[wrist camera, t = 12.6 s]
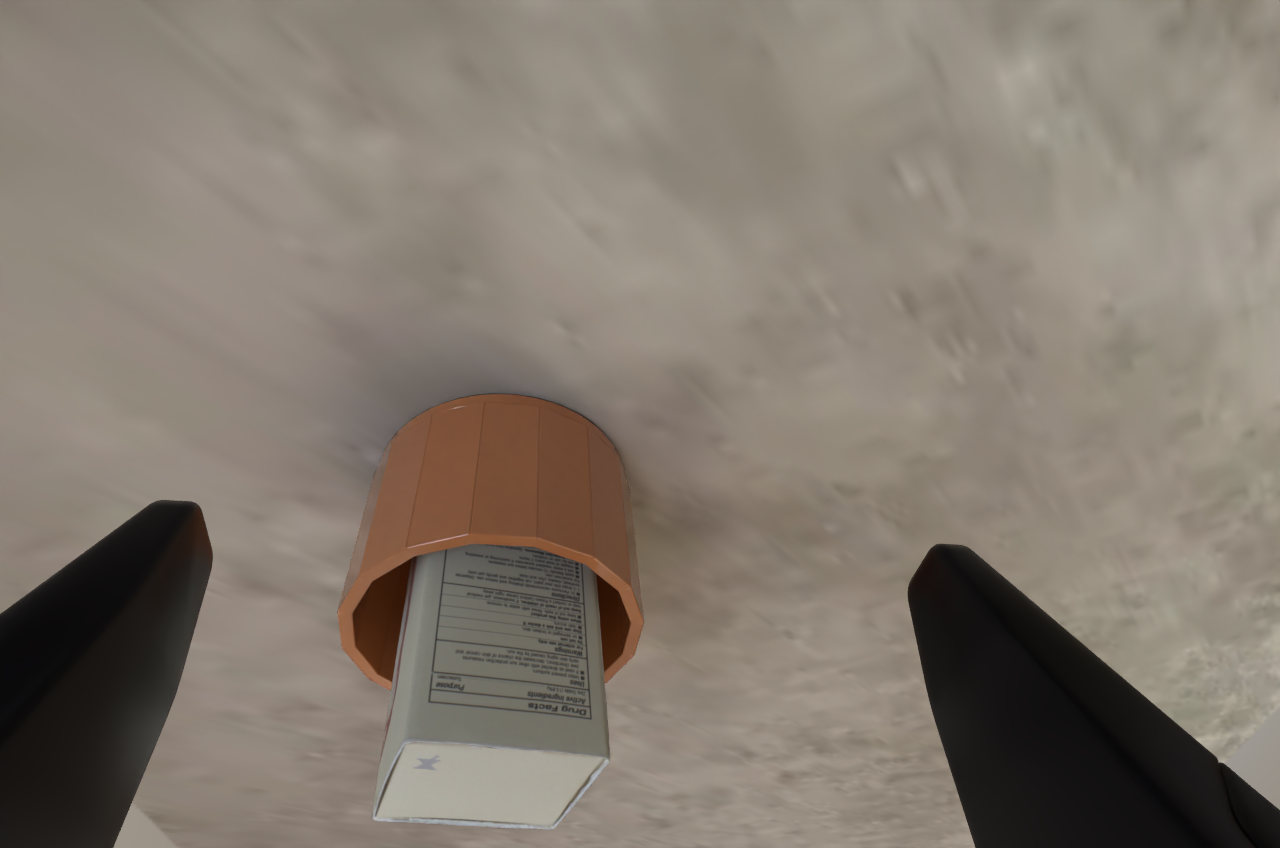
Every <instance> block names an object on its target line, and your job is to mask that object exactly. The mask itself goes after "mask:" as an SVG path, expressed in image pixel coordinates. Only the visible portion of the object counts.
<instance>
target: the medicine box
mask: <svg viewBox="0 0 1280 848" xmlns="http://www.w3.org/2000/svg"><path fill="white" fill-rule="evenodd" d="M609 762H610V747H609V729H608V718H607V702H606V691H605V680H604V666H603V656H602V641H601V629H600V613H599V603H598V590H597V580H596V573H595V572H594V571H592V570H591V569H590V568H589V567H588V566H586V565H585V564H582V563H579V562H576V561H573V560H570V559H567V558H564V557H561V556H558V555H555V554H553V553H550V552H547V551H544V550H541V549H538V548H535V547H524V546H504V545H484V544H469V545H465V546H460V547H456V548H451V549H446V550H442V551H437V552H433V553H428V554H423V555H419V556H414V557H413V558H411V564H410V570H409V577H408V583H407V590H406V597H405V603H404V610H403V616H402V623H401V629H400V635H399V642H398V648H397V654H396V661H395V667H394V674H393V680H392V687H391V693H390V700H389V706H388V712H387V719H386V726H385V733H384V740H383V746H382V752H381V759H380V766H379V773H378V779H377V786H376V792H375V798H374V805H373V813H372V818H373V819H374V820H376V821H386V822H387V821H390V822H412V823H414V822H417V823H429V824H446V825H462V826H486V827H504V828H534V829H537V828H540V829H548V830H553V829H554V828H555V827H556V826H557V825H558V823H559V822H560V821H561V820H562V818H563V817H565V815H566V814H567V813H568V812H569V811H570V810H571V809H572V807H573V806H574V805H575V804H576V803H577V801H578V800H579V799H580V798H581V797H582V795H583V794H584V793H585V792H586V790H587V789H588V788H589V787H590V786H591V785H592V783H593V782H594V781H595V780H596V778H597V777H598V776H599V774H600V773H601V772H602V771H603V769H604V768H605V767H606V766H607V764H608V763H609Z"/></svg>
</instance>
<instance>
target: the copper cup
mask: <svg viewBox="0 0 1280 848" xmlns="http://www.w3.org/2000/svg"><path fill="white" fill-rule="evenodd" d="M469 544H484V545H504V546H524V547H535V548H538V549H541V550H544V551H547V552H550V553H553V554H555V555H558V556H561V557H564V558H567V559H570V560H573V561H576V562H579V563H582V564H585V565H586V566H588V567H589V568H590V569H591V570H592V571H594V572H595V573H596V580H597V590H598V603H599V613H600V629H601V641H602V656H603V666H604V680H605V683H607V682H608V681H609V680H610V679H611V678H612V677H613V676H614V675H615V674H616V673H617V672H618V671H619V670H620V669H621V668H622V667H623V666H624V665H625V664H626V663H627V662H628V661H629V660H630V659H631V658H632V657H633V656H634V655H635V651H636V648H637V645H638V641H639V638H640V634H641V631H642V628H643V624H644V616H643V606H642V597H641V588H640V579H639V570H638V560H637V551H636V542H635V533H634V524H633V514H632V505H631V496H630V489H629V486H628V483H627V478H626V473H625V469H624V465H623V462H622V460H621V458H620V455H619V453H618V452H617V450H616V448H615V447H614V445H613V444H612V442H611V441H610V440H609V439H608V438H607V437H606V435H605V434H604V433H603V432H602V431H601V430H600V429H598V428H597V427H596V426H595V425H594V424H593V423H591V422H590V421H588V420H587V419H585V418H584V417H582V416H581V415H579V414H578V413H576V412H574V411H572V410H570V409H567V408H565V407H563V406H561V405H558V404H555V403H552V402H550V401H546V400H542V399H538V398H534V397H529V396H522V395H514V394H485V395H475V396H469V397H463V398H459V399H455V400H452V401H448V402H445V403H442V404H440V405H438V406H435V407H433V408H430V409H428V410H426V411H425V412H423V413H421V414H420V415H418V416H416V417H415V418H413V419H412V420H411V421H409V422H408V423H407V424H406V425H404V426H403V427H402V428H401V429H400V430H399V431H398V432H397V433H396V434H395V435H394V437H393V438H392V439H391V441H390V442H389V444H388V445H387V447H386V448H385V450H384V453H383V455H382V457H381V459H380V463H379V466H378V468H377V470H376V471H375V473H374V476H373V480H372V483H371V487H370V491H369V495H368V498H367V502H366V506H365V510H364V513H363V517H362V521H361V525H360V528H359V532H358V536H357V540H356V544H355V547H354V551H353V555H352V559H351V562H350V566H349V570H348V574H347V577H346V581H345V585H344V589H343V592H342V596H341V600H340V604H339V607H338V611H337V613H338V622H339V630H340V638H341V646H342V649H343V650H344V651H345V652H346V654H347V655H348V656H349V657H350V658H351V660H352V661H353V662H354V663H355V664H356V665H357V667H358V668H359V669H360V670H361V671H362V672H363V674H364V675H365V676H366V677H367V678H368V679H369V680H371V681H373V682H375V683H376V684H378V685H380V686H382V687H384V688H386V689H388V690H390V691H391V687H392V680H393V674H394V667H395V661H396V654H397V648H398V642H399V635H400V629H401V623H402V616H403V610H404V603H405V597H406V590H407V583H408V577H409V570H410V564H411V558H413V557H414V556H419V555H423V554H428V553H433V552H437V551H442V550H446V549H451V548H456V547H460V546H465V545H469Z"/></svg>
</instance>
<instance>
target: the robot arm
mask: <svg viewBox="0 0 1280 848" xmlns="http://www.w3.org/2000/svg"><path fill="white" fill-rule="evenodd" d="M212 560H213V553H212V547H211V543H210V540H209V536H208V532H207V528H206V524H205V521H204V517H203V513H202V510H201V508H200V507H199V505H198V504H196V503H194V502H190V501H172V500H159V501H156V502H154V503H151V504H150V505H148V506H147V507H146V508H144V509H143V510H141V511H140V512H139V513H137V514H136V515H135V516H133V517H132V518H131V519H129V520H128V521H126V522H125V523H124V524H122V525H121V526H120V527H118V528H117V529H116V530H114V531H113V532H111V533H110V534H109V535H107V536H106V537H105V538H103V539H102V540H101V541H99V542H98V543H96V544H95V545H94V546H92V547H91V548H90V549H88V550H87V551H86V552H84V553H83V554H81V555H80V556H79V557H77V558H76V559H75V560H73V561H72V562H71V563H69V564H68V565H66V566H65V567H64V568H62V569H61V570H60V571H58V572H57V573H56V574H54V575H53V576H51V577H50V578H49V579H47V580H46V581H45V582H43V583H42V584H41V585H39V586H38V587H37V588H35V589H34V590H32V591H31V592H30V593H28V594H27V595H26V596H24V597H23V598H22V599H20V600H19V601H17V602H16V603H15V604H13V605H12V606H11V607H9V608H8V609H7V610H5V611H4V612H2V613H1V614H0V848H113V847H114V844H115V842H116V839H117V837H118V835H119V832H120V830H121V827H122V825H123V823H124V820H125V818H126V815H127V813H128V810H129V808H130V806H131V803H132V801H133V798H134V796H135V794H136V791H137V789H138V786H139V784H140V781H141V779H142V777H143V774H144V772H145V769H146V767H147V765H148V762H149V760H150V757H151V755H152V753H153V750H154V748H155V745H156V743H157V740H158V738H159V736H160V733H161V731H162V728H163V726H164V724H165V721H166V719H167V716H168V714H169V711H170V708H171V706H172V703H173V701H174V698H175V695H176V692H177V689H178V686H179V682H180V679H181V676H182V672H183V669H184V665H185V662H186V658H187V654H188V651H189V647H190V644H191V640H192V637H193V633H194V629H195V626H196V622H197V619H198V615H199V612H200V608H201V605H202V601H203V597H204V594H205V590H206V587H207V583H208V580H209V576H210V572H211V568H212ZM908 602H909V607H910V612H911V617H912V622H913V626H914V631H915V636H916V641H917V645H918V650H919V655H920V660H921V665H922V669H923V674H924V679H925V684H926V689H927V693H928V697H929V701H930V705H931V709H932V712H933V715H934V719H935V722H936V726H937V729H938V732H939V735H940V738H941V741H942V744H943V747H944V751H945V754H946V757H947V760H948V763H949V766H950V769H951V772H952V776H953V779H954V782H955V785H956V788H957V791H958V794H959V797H960V801H961V804H962V807H963V810H964V813H965V816H966V819H967V823H968V826H969V829H970V832H971V835H972V838H973V841H974V844H975V848H1280V810H1279V809H1278V808H1276V807H1275V806H1274V805H1273V804H1272V803H1270V802H1269V801H1268V800H1267V799H1266V798H1264V797H1263V796H1262V795H1261V794H1259V793H1258V792H1257V791H1256V790H1255V789H1253V788H1252V787H1251V786H1250V785H1248V783H1246V782H1245V781H1244V780H1243V779H1242V778H1241V777H1239V776H1238V775H1237V774H1236V773H1235V772H1233V771H1232V770H1231V769H1230V768H1229V767H1227V766H1226V765H1225V764H1224V763H1218V759H1217V758H1216V757H1215V756H1214V755H1213V754H1212V753H1211V752H1210V751H1208V750H1207V749H1206V748H1205V747H1204V746H1203V745H1201V744H1200V743H1199V742H1198V741H1197V740H1195V739H1194V738H1193V737H1192V736H1191V735H1190V734H1188V733H1187V732H1186V731H1185V730H1184V729H1182V728H1181V727H1180V726H1179V725H1178V724H1177V723H1175V722H1174V721H1173V720H1172V719H1171V718H1169V717H1168V716H1167V715H1166V714H1165V713H1164V712H1162V711H1161V710H1160V709H1159V708H1158V707H1156V706H1155V705H1154V704H1153V703H1152V702H1151V701H1149V700H1148V699H1147V698H1146V697H1145V696H1144V695H1142V694H1141V693H1140V692H1139V691H1138V690H1136V689H1135V688H1134V687H1133V686H1132V685H1131V684H1129V683H1128V682H1127V681H1126V680H1125V679H1123V678H1122V677H1121V676H1120V675H1119V674H1118V673H1116V672H1115V671H1114V670H1113V669H1112V668H1110V667H1109V666H1108V665H1107V664H1106V663H1105V662H1103V661H1102V660H1101V659H1100V658H1099V657H1097V656H1096V655H1095V654H1094V653H1093V652H1092V651H1090V650H1089V649H1088V648H1087V647H1086V646H1084V645H1083V644H1082V643H1081V642H1080V641H1079V640H1077V639H1076V638H1075V637H1074V636H1073V635H1071V634H1070V633H1069V632H1068V631H1067V630H1066V629H1064V628H1063V627H1062V626H1061V625H1060V624H1058V623H1057V622H1056V621H1055V620H1054V619H1053V618H1051V617H1050V616H1049V615H1048V614H1047V613H1046V612H1044V611H1043V610H1042V609H1041V608H1040V607H1038V606H1037V605H1036V604H1035V603H1034V602H1033V601H1031V600H1030V599H1029V598H1028V597H1027V596H1025V595H1024V594H1023V593H1022V592H1021V591H1020V590H1018V589H1017V588H1016V587H1015V586H1014V585H1012V584H1011V583H1010V582H1009V581H1008V580H1007V579H1005V578H1004V577H1003V576H1002V575H1001V574H999V573H998V572H997V571H996V570H995V569H994V568H992V567H991V566H990V565H989V564H988V563H986V562H985V561H984V560H983V559H982V558H981V557H979V556H978V555H977V554H976V553H975V552H973V551H972V550H971V549H970V548H968V547H966V546H963V545H954V544H936V545H935V546H933V547H932V548H931V549H930V550H929V551H928V553H927V555H926V556H925V558H924V559H923V561H922V563H921V564H920V566H919V568H918V569H917V571H916V572H915V574H914V576H913V577H912V579H911V581H910V583H909V587H908Z"/></svg>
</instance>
